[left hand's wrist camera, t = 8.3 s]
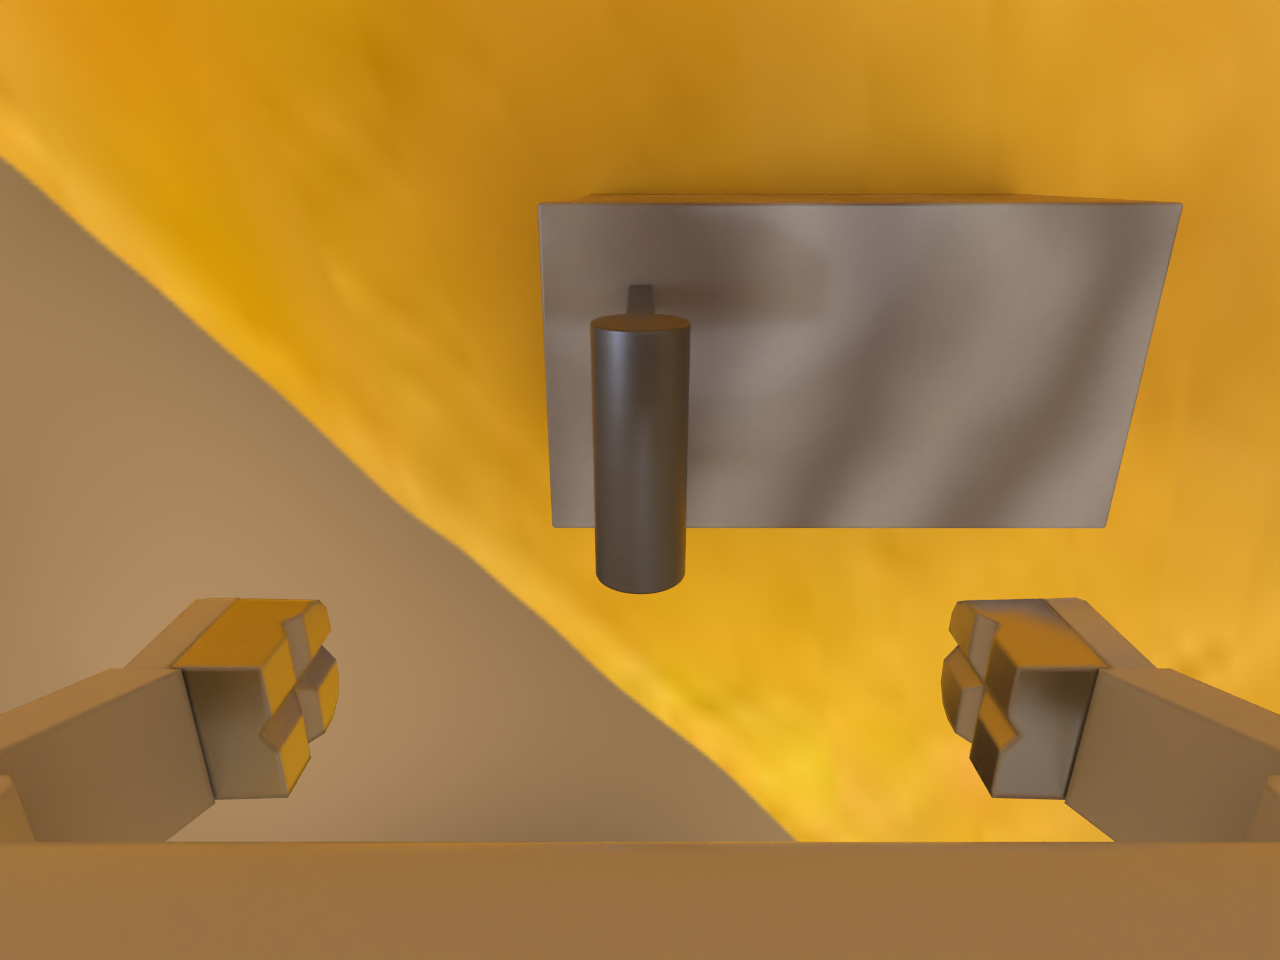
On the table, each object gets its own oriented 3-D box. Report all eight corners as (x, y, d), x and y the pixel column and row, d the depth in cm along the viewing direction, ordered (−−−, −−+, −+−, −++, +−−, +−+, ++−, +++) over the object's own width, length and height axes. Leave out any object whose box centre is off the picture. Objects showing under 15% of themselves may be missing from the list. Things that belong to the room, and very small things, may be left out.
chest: (594, 430, 35) (578, 515, 27) (589, 194, 32) (568, 202, 23) (977, 430, 35) (1088, 515, 26) (1016, 194, 32) (1161, 201, 23)
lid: (555, 516, 26) (515, 673, 18) (541, 201, 23) (482, 217, 14) (1089, 516, 26) (1296, 674, 18) (1162, 201, 23) (1465, 217, 14)
